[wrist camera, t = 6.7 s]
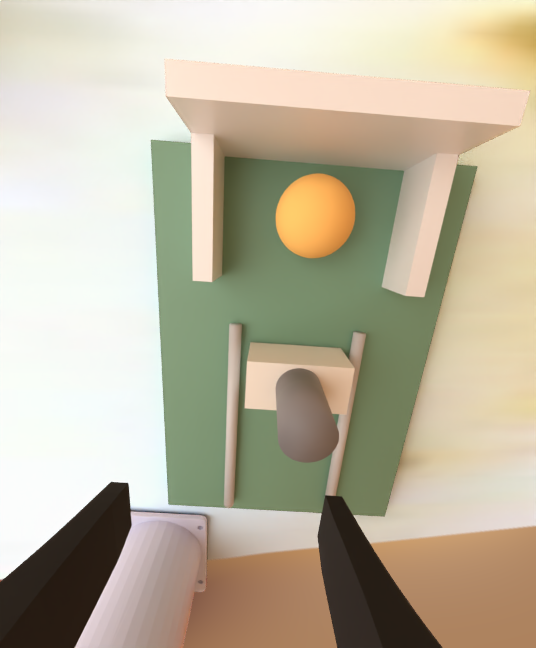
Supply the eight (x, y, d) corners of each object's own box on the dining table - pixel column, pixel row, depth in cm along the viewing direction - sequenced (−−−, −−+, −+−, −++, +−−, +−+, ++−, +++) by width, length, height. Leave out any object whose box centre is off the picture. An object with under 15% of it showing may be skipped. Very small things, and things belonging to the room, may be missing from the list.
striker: (334, 388, 18) (371, 470, 12) (248, 382, 18) (236, 462, 12) (340, 348, 18) (385, 412, 11) (250, 342, 17) (239, 402, 11)
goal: (397, 288, 17) (465, 311, 11) (205, 274, 16) (172, 290, 11) (426, 151, 14) (530, 90, 9) (206, 133, 14) (164, 58, 8)
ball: (345, 194, 15) (338, 264, 16) (276, 189, 15) (271, 259, 16) (373, 160, 11) (362, 255, 12) (280, 153, 11) (274, 249, 12)
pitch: (379, 505, 23) (388, 526, 21) (172, 493, 23) (164, 513, 21) (464, 171, 16) (488, 162, 14) (158, 146, 15) (144, 133, 14)
